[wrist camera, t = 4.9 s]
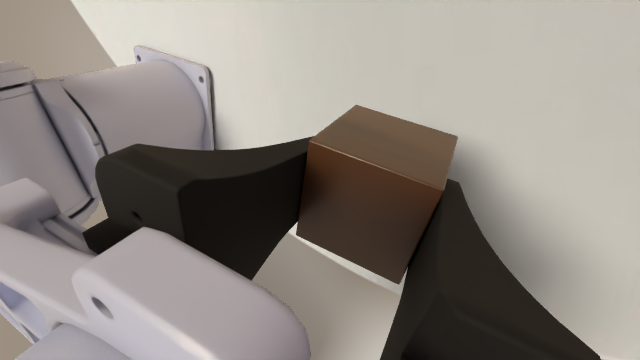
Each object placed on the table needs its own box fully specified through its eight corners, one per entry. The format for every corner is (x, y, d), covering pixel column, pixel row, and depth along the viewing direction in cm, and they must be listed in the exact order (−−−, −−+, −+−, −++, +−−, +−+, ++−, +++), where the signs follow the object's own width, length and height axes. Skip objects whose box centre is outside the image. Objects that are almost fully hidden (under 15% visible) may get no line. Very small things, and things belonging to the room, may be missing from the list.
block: (421, 218, 13) (398, 285, 10) (338, 184, 14) (295, 235, 11) (458, 136, 11) (444, 190, 8) (356, 104, 12) (308, 139, 9)
